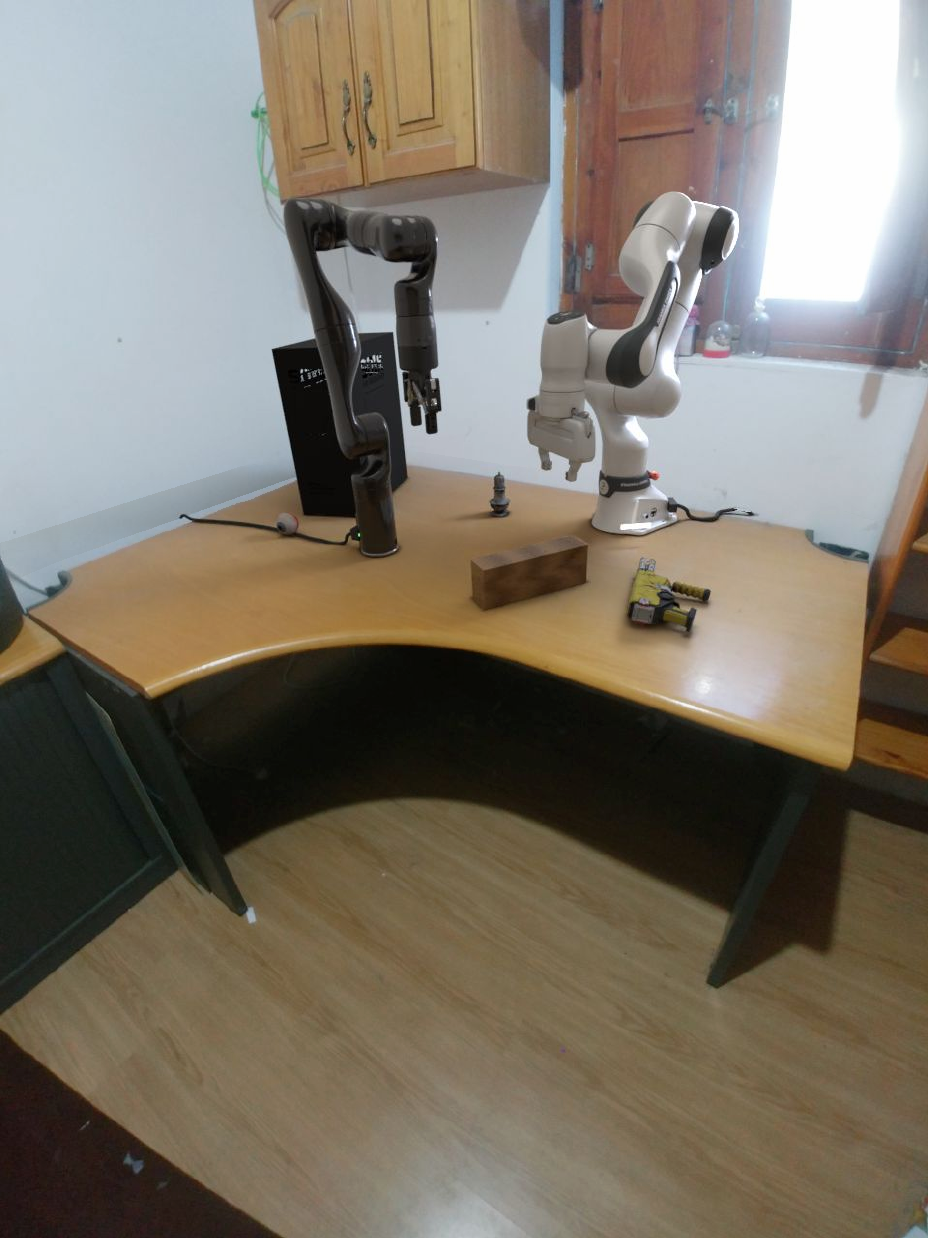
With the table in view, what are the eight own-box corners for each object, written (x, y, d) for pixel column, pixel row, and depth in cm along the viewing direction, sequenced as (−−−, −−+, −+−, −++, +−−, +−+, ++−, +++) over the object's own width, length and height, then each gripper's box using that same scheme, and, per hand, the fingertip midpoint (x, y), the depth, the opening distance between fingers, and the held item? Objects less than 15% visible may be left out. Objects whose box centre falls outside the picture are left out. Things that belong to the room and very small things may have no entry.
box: (570, 571, 136) (571, 534, 132) (586, 582, 131) (588, 544, 127) (472, 597, 128) (470, 559, 123) (485, 609, 123) (483, 570, 119)
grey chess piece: (508, 517, 168) (508, 474, 162) (488, 516, 169) (486, 474, 163) (511, 509, 173) (511, 468, 167) (491, 509, 174) (490, 468, 168)
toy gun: (712, 567, 127) (640, 554, 131) (714, 617, 107) (629, 601, 111) (706, 587, 130) (636, 574, 134) (707, 640, 109) (624, 623, 113)
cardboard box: (367, 516, 174) (344, 346, 151) (303, 514, 178) (271, 348, 156) (407, 477, 205) (393, 331, 183) (352, 476, 210) (331, 334, 187)
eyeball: (273, 537, 164) (268, 516, 161) (287, 528, 169) (282, 508, 166) (291, 539, 161) (286, 518, 158) (305, 530, 166) (301, 510, 163)
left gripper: (386, 340, 118) (395, 425, 126) (411, 346, 107) (419, 439, 115) (421, 337, 121) (428, 420, 129) (450, 342, 109) (455, 433, 117)
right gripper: (607, 411, 110) (600, 485, 117) (548, 396, 127) (546, 461, 133) (577, 415, 108) (573, 490, 115) (522, 399, 124) (521, 465, 131)
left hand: (424, 429), depth 122 cm, fingers open, 8 cm apart
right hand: (558, 475), depth 124 cm, fingers open, 8 cm apart
